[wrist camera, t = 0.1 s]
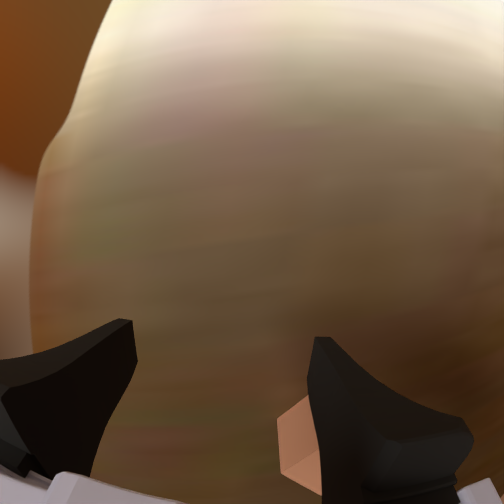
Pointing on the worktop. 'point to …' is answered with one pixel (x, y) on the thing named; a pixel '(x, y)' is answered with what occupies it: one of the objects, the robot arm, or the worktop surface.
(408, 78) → the worktop surface
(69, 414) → the robot arm
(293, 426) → the pink rectangular block
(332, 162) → the worktop surface
